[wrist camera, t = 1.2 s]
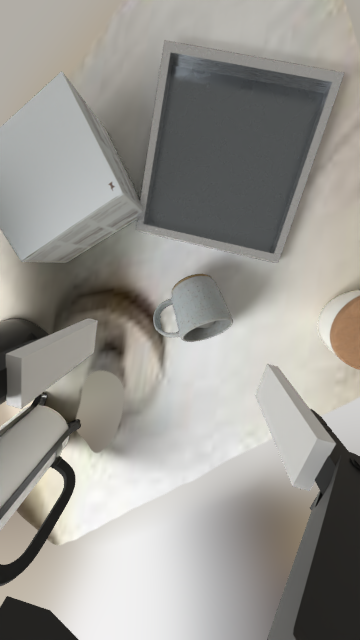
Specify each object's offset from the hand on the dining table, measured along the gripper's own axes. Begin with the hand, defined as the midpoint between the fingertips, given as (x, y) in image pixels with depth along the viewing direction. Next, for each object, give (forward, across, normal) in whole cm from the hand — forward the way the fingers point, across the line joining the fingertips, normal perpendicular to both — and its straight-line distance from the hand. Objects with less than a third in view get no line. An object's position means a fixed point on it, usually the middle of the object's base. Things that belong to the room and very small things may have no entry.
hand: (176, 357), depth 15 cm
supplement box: (+20, -21, +12) cm, 32 cm away
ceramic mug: (+21, 0, 0) cm, 21 cm away
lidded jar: (+21, +24, +4) cm, 32 cm away
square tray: (+20, 0, +21) cm, 29 cm away
